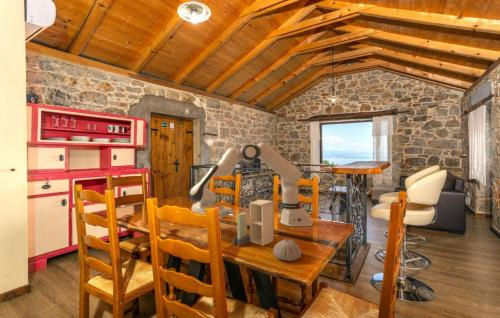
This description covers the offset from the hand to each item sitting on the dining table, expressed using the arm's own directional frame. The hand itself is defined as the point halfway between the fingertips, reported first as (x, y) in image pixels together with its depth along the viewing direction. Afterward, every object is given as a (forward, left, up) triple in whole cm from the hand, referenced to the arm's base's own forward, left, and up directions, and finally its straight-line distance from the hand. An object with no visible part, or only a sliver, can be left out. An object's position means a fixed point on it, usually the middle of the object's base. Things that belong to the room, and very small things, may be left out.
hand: (227, 216), depth 146 cm
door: (-10, +6, -13) cm, 17 cm away
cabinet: (-16, +5, -13) cm, 21 cm away
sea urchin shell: (-35, +21, -13) cm, 43 cm away
